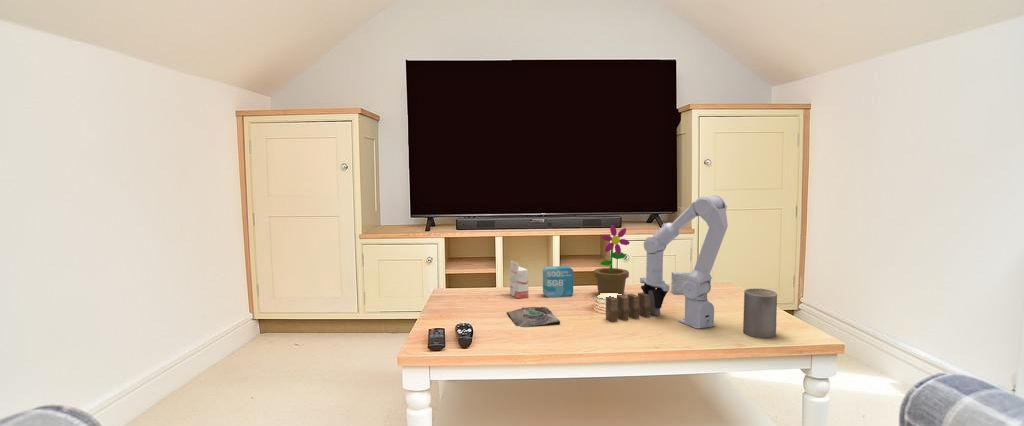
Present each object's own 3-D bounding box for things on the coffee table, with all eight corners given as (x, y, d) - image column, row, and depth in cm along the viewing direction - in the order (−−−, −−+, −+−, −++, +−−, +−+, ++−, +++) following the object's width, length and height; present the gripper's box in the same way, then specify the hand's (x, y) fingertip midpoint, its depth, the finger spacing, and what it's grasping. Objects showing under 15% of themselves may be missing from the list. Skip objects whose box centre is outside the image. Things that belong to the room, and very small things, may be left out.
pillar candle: (748, 327, 182) (749, 283, 181) (779, 332, 176) (781, 287, 175) (739, 334, 175) (740, 289, 173) (771, 340, 169) (773, 293, 167)
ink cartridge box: (529, 297, 224) (528, 262, 223) (518, 299, 222) (518, 263, 221) (520, 293, 232) (519, 259, 230) (509, 294, 230) (509, 260, 228)
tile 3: (639, 318, 193) (639, 296, 193) (634, 319, 193) (634, 297, 192) (631, 315, 197) (632, 293, 197) (627, 316, 197) (627, 294, 196)
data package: (545, 297, 224) (545, 268, 223) (542, 295, 228) (542, 266, 227) (573, 296, 226) (573, 267, 225) (570, 293, 230) (570, 265, 229)
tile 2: (649, 317, 195) (649, 295, 194) (644, 317, 194) (645, 295, 194) (642, 313, 199) (642, 292, 198) (637, 314, 198) (637, 293, 198)
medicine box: (690, 292, 231) (690, 272, 230) (692, 294, 227) (693, 274, 226) (671, 291, 232) (671, 271, 231) (673, 294, 227) (673, 274, 226)
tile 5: (617, 321, 190) (617, 299, 189) (612, 322, 189) (612, 299, 188) (610, 318, 194) (610, 296, 193) (605, 319, 193) (605, 296, 192)
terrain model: (505, 313, 204) (505, 305, 203) (544, 311, 207) (544, 302, 206) (517, 330, 184) (517, 320, 184) (560, 327, 187) (560, 317, 187)
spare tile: (659, 314, 197) (660, 292, 196) (655, 314, 196) (655, 293, 195) (652, 311, 201) (652, 289, 200) (647, 311, 200) (648, 290, 199)
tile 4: (628, 320, 192) (628, 297, 191) (623, 320, 191) (623, 298, 190) (621, 316, 196) (621, 295, 195) (616, 317, 195) (616, 295, 194)
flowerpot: (602, 301, 218) (602, 226, 215) (588, 292, 231) (588, 222, 228) (634, 298, 221) (635, 225, 219) (618, 290, 235) (619, 221, 232)
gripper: (676, 272, 192) (676, 310, 193) (651, 265, 205) (650, 300, 206) (660, 274, 189) (659, 312, 190) (635, 266, 202) (635, 302, 204)
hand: (653, 306), depth 198 cm, fingers closed on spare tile, 4 cm apart
